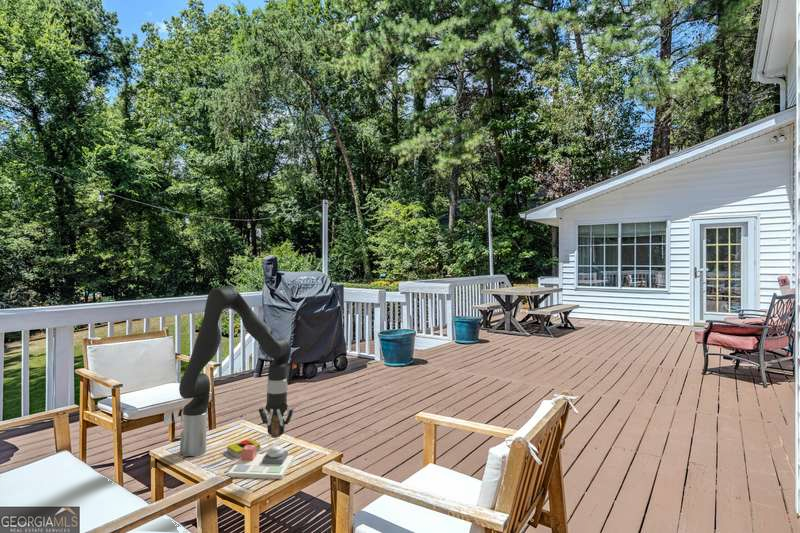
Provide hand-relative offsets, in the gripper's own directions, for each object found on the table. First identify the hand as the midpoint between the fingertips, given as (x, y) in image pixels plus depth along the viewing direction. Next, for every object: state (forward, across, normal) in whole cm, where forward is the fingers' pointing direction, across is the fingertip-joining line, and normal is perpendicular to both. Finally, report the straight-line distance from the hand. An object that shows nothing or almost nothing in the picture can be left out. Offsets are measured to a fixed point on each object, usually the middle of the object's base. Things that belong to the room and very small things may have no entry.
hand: (275, 434), depth 171 cm
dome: (+13, -3, +8) cm, 16 cm away
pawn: (+1, 0, 0) cm, 1 cm away
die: (+14, -14, +9) cm, 21 cm away
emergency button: (+16, -20, +19) cm, 32 cm away
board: (+15, -6, +4) cm, 17 cm away
